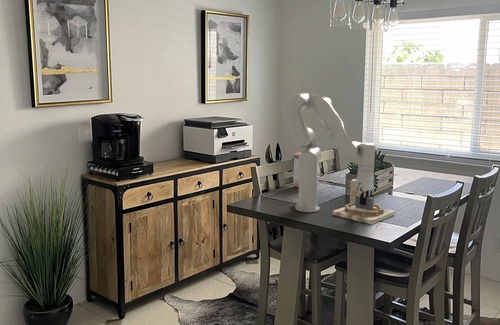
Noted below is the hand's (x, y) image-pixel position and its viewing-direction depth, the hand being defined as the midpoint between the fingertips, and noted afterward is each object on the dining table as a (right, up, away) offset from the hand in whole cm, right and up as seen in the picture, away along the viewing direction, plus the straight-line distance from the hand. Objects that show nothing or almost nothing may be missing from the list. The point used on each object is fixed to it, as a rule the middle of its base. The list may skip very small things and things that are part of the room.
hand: (364, 203), depth 254 cm
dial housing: (0, -5, +1) cm, 6 cm away
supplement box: (+2, -2, +21) cm, 21 cm away
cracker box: (-24, +5, +56) cm, 61 cm away
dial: (0, -3, +1) cm, 3 cm away
